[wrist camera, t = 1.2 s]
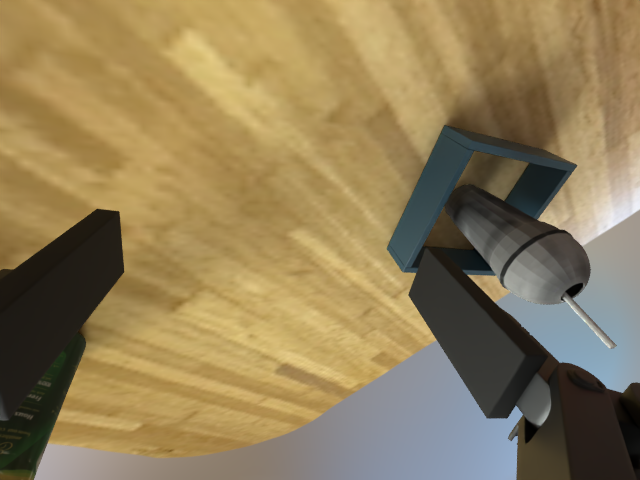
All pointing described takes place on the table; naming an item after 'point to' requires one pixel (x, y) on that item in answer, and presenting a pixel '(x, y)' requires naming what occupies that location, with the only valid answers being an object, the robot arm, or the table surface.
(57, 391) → the coffee jar
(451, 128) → the frame
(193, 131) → the table surface
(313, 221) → the table surface
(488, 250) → the beverage cup
